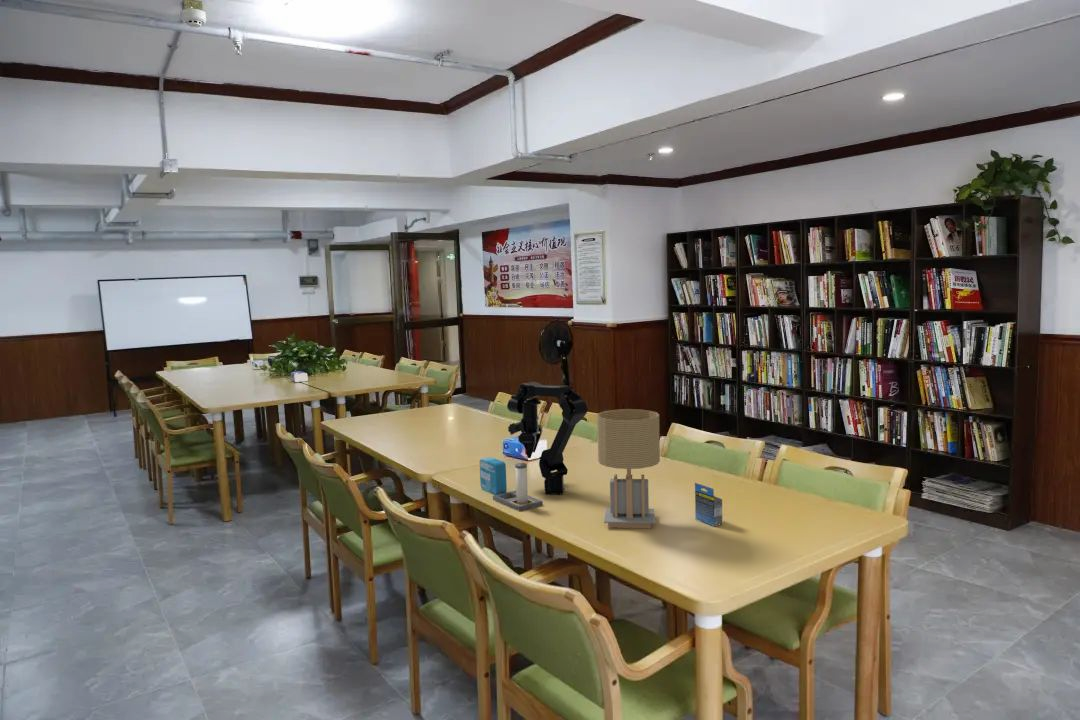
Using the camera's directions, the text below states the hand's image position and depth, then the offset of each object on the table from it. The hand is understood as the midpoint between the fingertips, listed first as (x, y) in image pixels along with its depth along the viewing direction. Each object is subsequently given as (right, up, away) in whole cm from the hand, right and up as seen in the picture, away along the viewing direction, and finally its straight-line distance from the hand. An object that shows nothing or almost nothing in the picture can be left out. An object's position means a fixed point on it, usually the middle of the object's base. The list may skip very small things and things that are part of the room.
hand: (531, 455), depth 274 cm
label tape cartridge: (+57, -16, -46) cm, 75 cm away
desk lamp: (+32, -16, -43) cm, 56 cm away
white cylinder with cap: (-3, -15, -24) cm, 28 cm away
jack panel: (-5, -14, -19) cm, 25 cm away
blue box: (-14, -13, -4) cm, 20 cm away
